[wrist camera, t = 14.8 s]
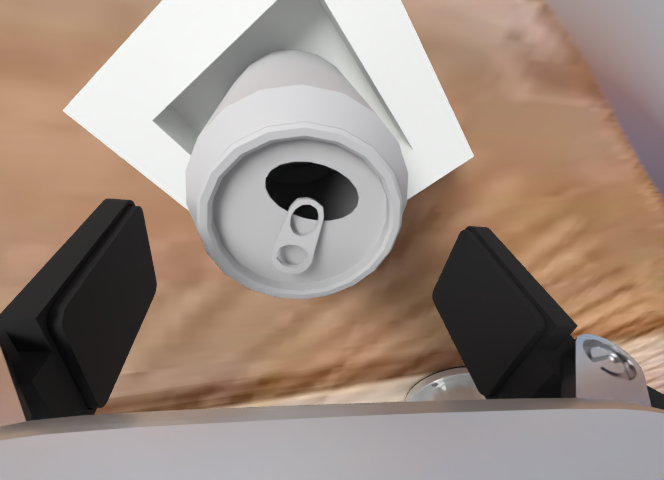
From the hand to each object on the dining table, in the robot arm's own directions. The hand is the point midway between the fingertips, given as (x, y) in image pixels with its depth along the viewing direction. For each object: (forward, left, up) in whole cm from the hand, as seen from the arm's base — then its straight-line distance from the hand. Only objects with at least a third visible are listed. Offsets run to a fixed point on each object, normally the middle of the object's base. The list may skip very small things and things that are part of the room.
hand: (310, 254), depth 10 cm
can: (0, 0, -13) cm, 13 cm away
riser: (0, 0, -15) cm, 15 cm away
